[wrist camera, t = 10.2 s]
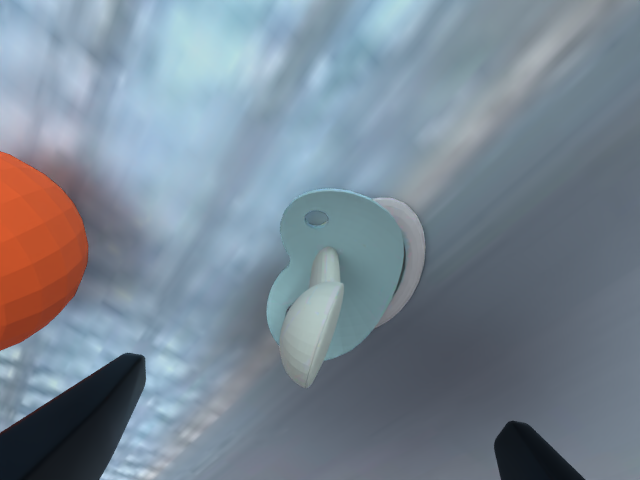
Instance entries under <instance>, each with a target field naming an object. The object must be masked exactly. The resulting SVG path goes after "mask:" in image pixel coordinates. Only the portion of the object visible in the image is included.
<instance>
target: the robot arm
mask: <svg viewBox="0 0 640 480" xmlns="http://www.w3.org/2000/svg"><path fill="white" fill-rule="evenodd" d="M145 382H146V369H145V358H144V356H143V355H139V354H133V353H125V354H123V355H121V356H119V357H118V358H116V359H115V360H113V361H112V362H110V363H108V364H107V365H105V366H104V367H102V368H101V369H99V370H97V371H96V372H94V373H93V374H91V375H90V376H88V377H87V378H85V379H83V380H82V381H80V382H79V383H77V384H76V385H74V386H73V387H71V388H69V389H68V390H66V391H65V392H63V393H62V394H60V395H59V396H57V397H55V398H54V399H52V400H51V401H49V402H48V403H46V404H44V405H43V406H41V407H40V408H38V409H37V410H35V411H34V412H32V413H30V414H29V415H27V416H26V417H24V418H23V419H21V420H20V421H18V422H16V423H15V424H13V425H12V426H10V427H9V428H7V429H5V430H4V431H2V432H1V433H0V480H99V479H100V477H101V476H102V474H103V472H104V470H105V469H106V467H107V465H108V463H109V461H110V460H111V458H112V456H113V454H114V451H115V449H116V447H117V445H118V443H119V441H120V439H121V437H122V434H123V432H124V430H125V428H126V426H127V424H128V421H129V419H130V417H131V415H132V413H133V411H134V408H135V406H136V404H137V402H138V400H139V398H140V396H141V393H142V391H143V389H144V386H145ZM494 450H495V455H496V459H497V464H498V468H499V473H500V477H501V480H585V479H584V478H583V477H582V476H581V475H580V474H579V473H578V472H577V471H576V470H575V469H574V468H573V467H572V466H571V465H570V464H569V463H568V462H567V461H566V460H565V459H564V458H563V457H562V456H561V455H559V454H558V453H557V452H556V451H555V450H554V449H553V448H552V447H551V446H550V445H549V444H548V443H547V442H546V441H545V440H544V439H543V438H542V437H541V436H540V435H539V434H538V433H537V432H536V431H535V430H534V429H533V428H532V427H531V426H529V425H528V424H526V423H522V422H517V421H509V422H508V423H507V424H506V425H505V427H504V428H503V429H502V431H501V432H500V434H499V435H498V436H497V438H496V439H495V443H494Z"/></svg>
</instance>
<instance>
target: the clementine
mask: <svg viewBox="0 0 640 480" xmlns="http://www.w3.org/2000/svg"><path fill="white" fill-rule="evenodd" d="M87 262H88V242H87V237H86V232H85V228H84V224H83V220H82V218H81V216H80V214H79V212H78V210H77V209H76V207H75V205H74V203H73V202H72V201H71V199H70V198H69V197H68V196H67V195H66V193H65V192H64V191H63V190H62V189H61V188H60V187H59V186H58V185H57V184H56V183H54V182H53V181H52V180H51V179H50V178H48V177H47V176H46V175H45V174H43V173H41V172H40V171H38V170H36V169H35V168H33V167H31V166H29V165H28V164H26V163H24V162H22V161H21V160H19V159H17V158H15V157H13V156H12V155H10V154H7V153H4V152H1V151H0V351H1V350H3V349H6V348H8V347H11V346H13V345H15V344H18V343H20V342H22V341H24V340H25V339H27V338H28V337H30V336H31V335H33V334H34V333H36V332H37V331H39V330H40V329H42V328H43V327H45V326H46V325H47V324H48V323H49V322H50V321H52V320H53V319H54V318H55V317H56V316H57V315H58V314H59V313H60V312H61V311H62V309H63V308H64V307H65V306H66V305H67V304H68V302H69V301H70V300H71V299H72V298H73V297H74V296H75V293H76V291H77V289H78V286H79V284H80V282H81V280H82V277H83V274H84V271H85V269H86V266H87Z"/></svg>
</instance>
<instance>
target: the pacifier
mask: <svg viewBox="0 0 640 480" xmlns="http://www.w3.org/2000/svg"><path fill="white" fill-rule="evenodd" d="M311 211H321V212H323V213H325V214H326V215H327V216H328V220H327V222H325V223H323V224H322V225H320V226H314V225H311V224H309V223H308V222H307V221H306V219H305V215H306V214H307V213H309V212H311ZM280 234H281V239H282V242H283V245H284V247H285V250H286V252H287V253H288V254H289V256H290V262H289V265H287V266H286V267H285V268H284V269H283V270H282V272H281V273H280V274H279V276H278V277H277V279H276V280H275V282H274V284H273V286H272V288H271V290H270V293H269V297H268V300H267V321H268V326H269V329H270V331H271V334H272V336H273V338H274V339H275V341H276V343H277V344H278V345H279V348H280V356H281V360H282V364H283V366H284V369H285V370H286V372H287V374H288V375H289V376H290V378H291V379H292V380H293V381H294V382H295V383H297V384H298V385H300V386H301V387H303V388H309V387H310V386H311V384H312V383H313V381H314V380H315V378H316V376H317V374H318V372H319V370H320V368H321V365H322V363H323V361H324V360H329V359H333V358H335V357H337V356H340V355H343V354H345V353H347V352H349V351H351V350H352V349H354V348H355V347H356V346H357V345H358V344H360V343H361V342H362V341H363V340H364V339H365V338H366V337H367V336H368V335H369V334H370V333H371V331H372V330H373V329H374V328H377V327H379V326H381V325H382V324H384V323H386V322H388V321H389V320H391V319H392V318H393V317H394V316H395V315H396V314H397V313H399V312H400V311H401V310H402V308H403V307H404V306H405V304H406V303H407V302H408V301H409V299H410V298H411V296H412V294H413V293H414V291H415V289H416V287H417V285H418V283H419V280H420V277H421V273H422V270H423V267H424V261H425V249H426V244H425V238H424V231H423V227H422V225H421V223H420V221H419V219H418V217H417V215H416V213H415V212H414V211H413V210H412V209H411V208H410V207H409V206H408V205H407V204H406V203H403V202H401V201H399V200H396V199H394V198H379V197H376V198H373V199H370V198H368V197H367V196H364V195H361V194H359V193H356V192H353V191H349V190H344V189H334V188H323V189H316V190H312V191H309V192H306V193H304V194H302V195H300V196H298V197H297V198H295V199H294V200H293V201H292V202H291V203H290V205H289V206H288V207H287V208H286V210H285V211H284V214H283V216H282V219H281V223H280ZM291 304H293V305H292V306H291V307H290V309H289V311H288V313H286V310H287V308H288V307H289V306H290V305H291Z"/></svg>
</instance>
